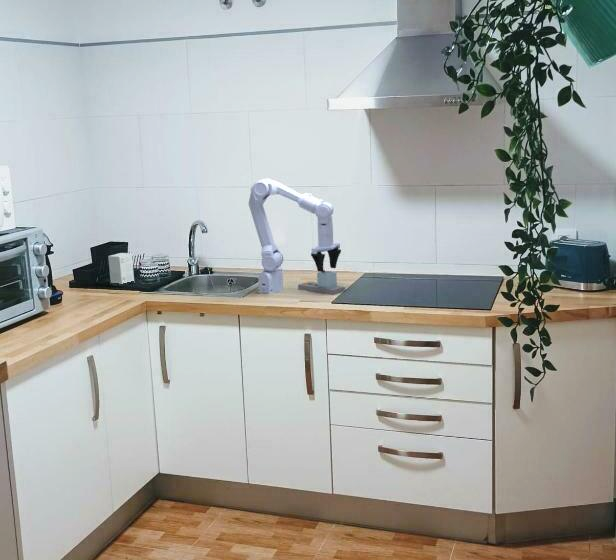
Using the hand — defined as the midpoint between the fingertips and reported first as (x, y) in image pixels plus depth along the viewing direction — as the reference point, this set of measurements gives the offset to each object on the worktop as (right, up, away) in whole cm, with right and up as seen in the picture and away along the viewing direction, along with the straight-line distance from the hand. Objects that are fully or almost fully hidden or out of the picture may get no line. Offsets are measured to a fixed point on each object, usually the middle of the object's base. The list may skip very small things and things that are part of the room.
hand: (326, 269), depth 309 cm
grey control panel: (-2, -9, +4) cm, 10 cm away
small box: (-86, -6, +32) cm, 92 cm away
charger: (0, -8, +2) cm, 9 cm away
